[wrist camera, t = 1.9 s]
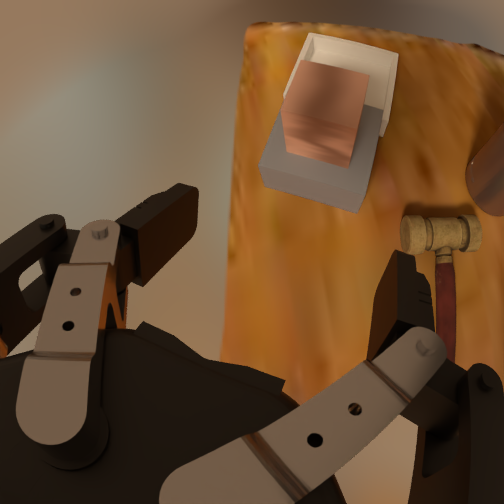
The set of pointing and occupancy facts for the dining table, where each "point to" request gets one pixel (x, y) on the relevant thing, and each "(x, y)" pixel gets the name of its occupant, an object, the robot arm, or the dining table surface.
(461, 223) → the gavel
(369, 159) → the grey platform
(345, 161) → the terracotta block
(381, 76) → the box
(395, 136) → the dining table surface
